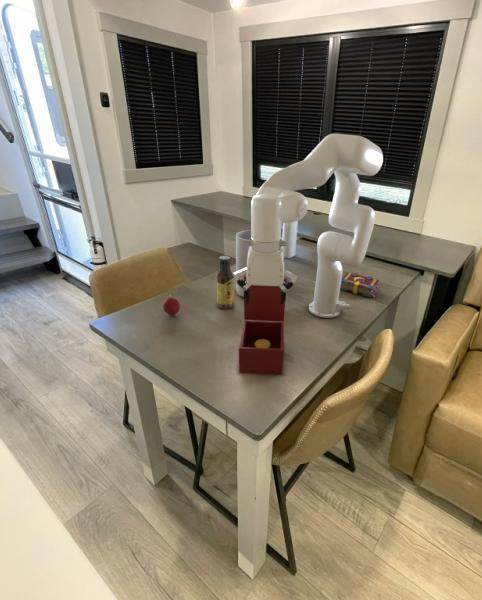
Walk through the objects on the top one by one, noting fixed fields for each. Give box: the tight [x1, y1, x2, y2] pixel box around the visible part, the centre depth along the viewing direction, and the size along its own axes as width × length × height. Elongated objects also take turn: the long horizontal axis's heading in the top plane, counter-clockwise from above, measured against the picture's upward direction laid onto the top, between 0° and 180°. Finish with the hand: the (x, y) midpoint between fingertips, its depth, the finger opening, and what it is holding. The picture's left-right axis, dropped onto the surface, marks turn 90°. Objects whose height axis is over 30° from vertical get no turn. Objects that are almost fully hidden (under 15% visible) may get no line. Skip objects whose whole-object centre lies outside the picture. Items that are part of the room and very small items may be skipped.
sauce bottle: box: [216, 255, 235, 309], centre depth 124 cm, size 6×6×20 cm
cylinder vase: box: [235, 229, 251, 298], centre depth 134 cm, size 12×12×25 cm
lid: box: [243, 275, 288, 322], centre depth 103 cm, size 16×13×6 cm
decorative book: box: [340, 271, 380, 299], centre depth 148 cm, size 11×16×5 cm
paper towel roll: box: [281, 220, 299, 259], centre depth 173 cm, size 7×6×21 cm
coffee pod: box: [255, 339, 270, 348], centre depth 101 cm, size 5×5×4 cm
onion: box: [162, 294, 181, 316], centre depth 119 cm, size 6×6×8 cm
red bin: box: [238, 319, 285, 375], centre depth 101 cm, size 15×13×9 cm
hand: (264, 301), depth 93 cm, fingers open, 9 cm apart
